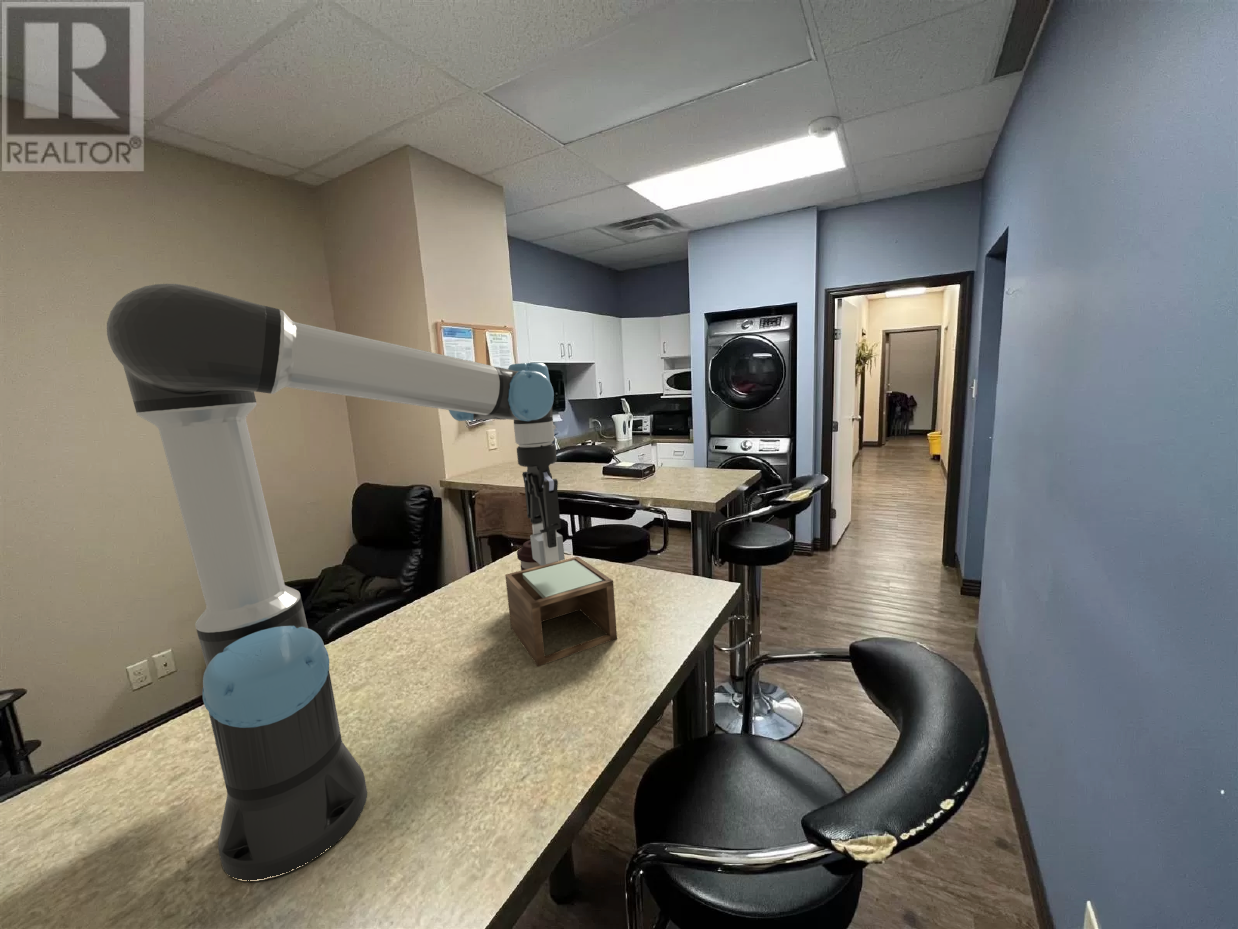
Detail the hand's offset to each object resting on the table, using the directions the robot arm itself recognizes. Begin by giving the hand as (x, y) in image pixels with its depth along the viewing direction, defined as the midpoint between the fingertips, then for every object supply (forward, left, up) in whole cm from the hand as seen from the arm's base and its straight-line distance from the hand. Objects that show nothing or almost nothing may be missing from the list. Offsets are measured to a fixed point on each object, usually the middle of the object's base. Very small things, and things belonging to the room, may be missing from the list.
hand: (546, 557), depth 97 cm
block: (0, 0, 0) cm, 1 cm away
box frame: (+2, 0, -17) cm, 17 cm away
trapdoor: (+3, 0, -6) cm, 7 cm away
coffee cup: (+4, +17, -18) cm, 25 cm away
